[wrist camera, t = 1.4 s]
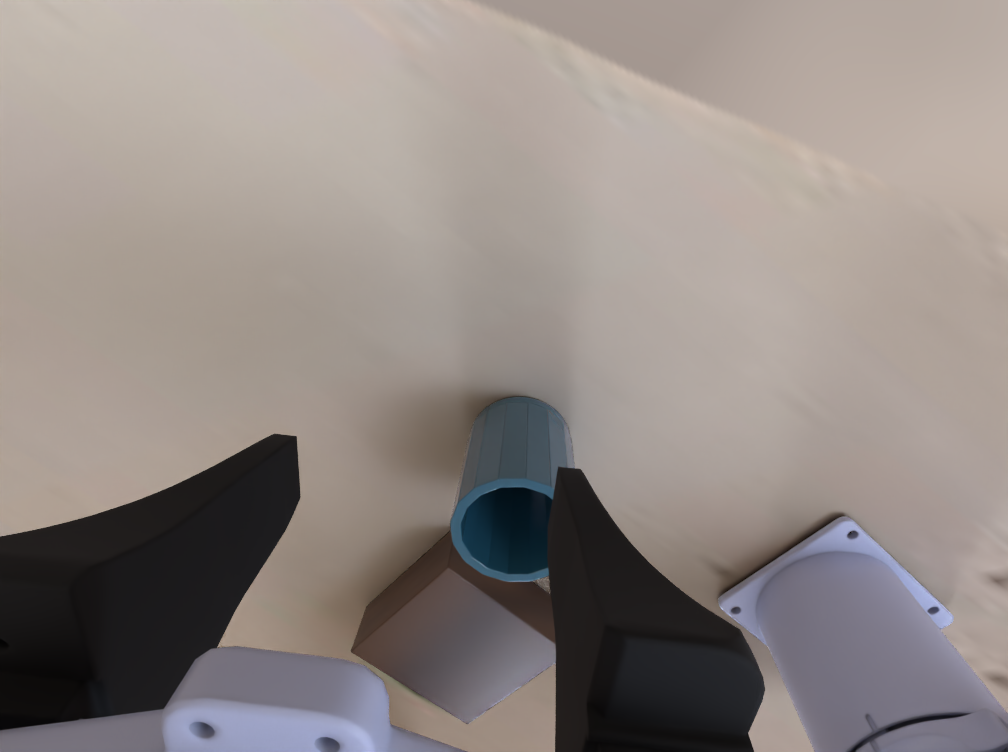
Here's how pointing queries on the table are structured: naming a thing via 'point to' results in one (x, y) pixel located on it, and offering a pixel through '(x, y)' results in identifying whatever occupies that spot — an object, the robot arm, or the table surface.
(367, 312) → the table surface
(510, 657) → the walnut block
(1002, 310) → the table surface
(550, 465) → the small cup
